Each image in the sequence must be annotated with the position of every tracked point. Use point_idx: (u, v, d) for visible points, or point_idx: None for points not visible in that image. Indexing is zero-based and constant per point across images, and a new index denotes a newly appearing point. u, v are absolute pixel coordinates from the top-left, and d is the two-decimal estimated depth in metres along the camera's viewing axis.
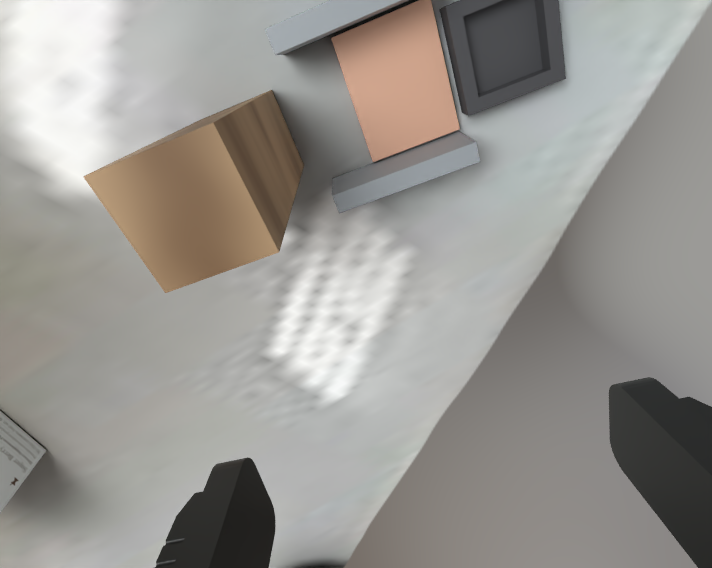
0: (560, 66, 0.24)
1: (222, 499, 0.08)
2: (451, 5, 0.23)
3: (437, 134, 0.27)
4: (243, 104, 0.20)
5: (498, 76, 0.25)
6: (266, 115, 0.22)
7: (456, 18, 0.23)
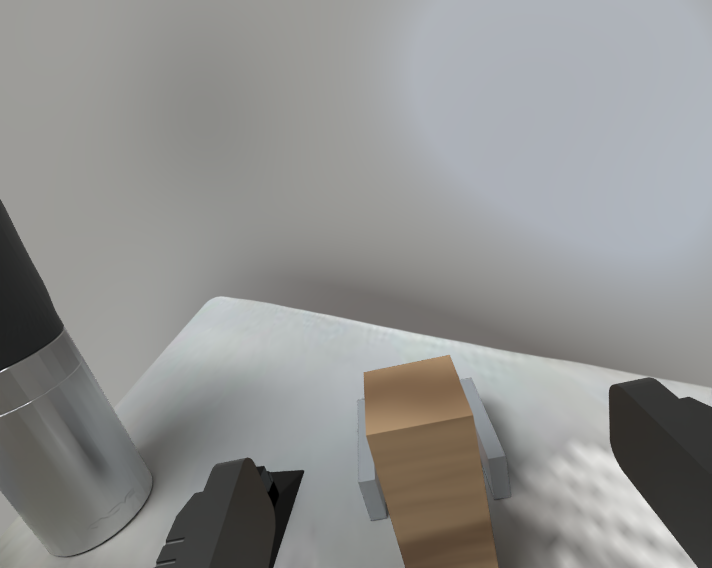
0: None
1: (222, 499, 0.08)
2: None
3: None
4: None
5: None
6: None
7: None
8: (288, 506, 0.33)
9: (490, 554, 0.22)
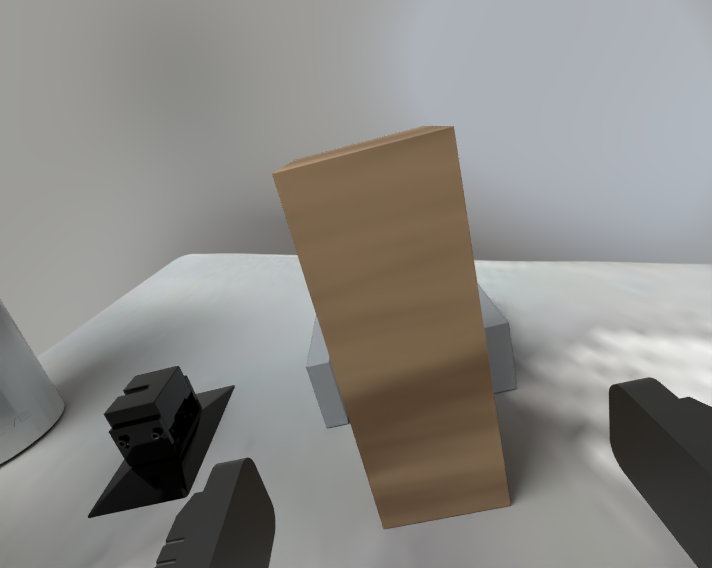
0: None
1: (222, 499, 0.08)
2: None
3: None
4: None
5: None
6: None
7: None
8: (215, 419, 0.26)
9: (489, 418, 0.14)
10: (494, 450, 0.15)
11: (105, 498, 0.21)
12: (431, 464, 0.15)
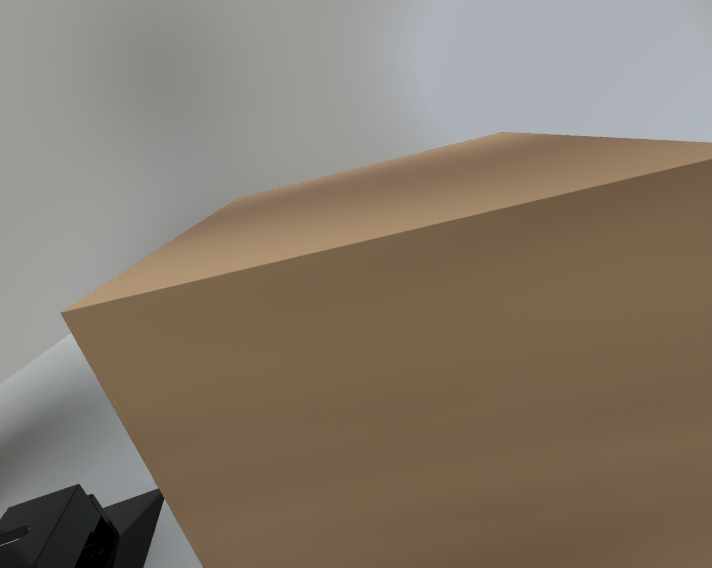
0: None
1: None
2: None
3: None
4: None
5: None
6: None
7: None
8: (139, 551, 0.18)
9: None
10: None
11: None
12: None
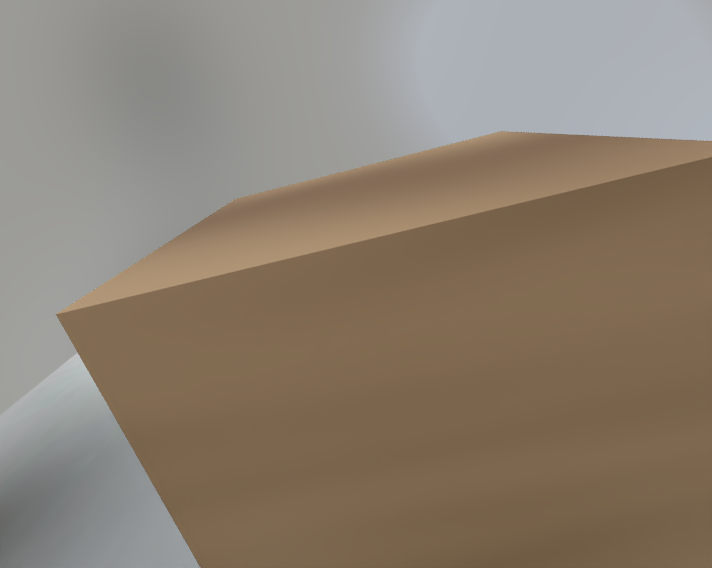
0: None
1: None
2: None
3: None
4: None
5: None
6: None
7: None
8: None
9: None
10: None
11: None
12: None
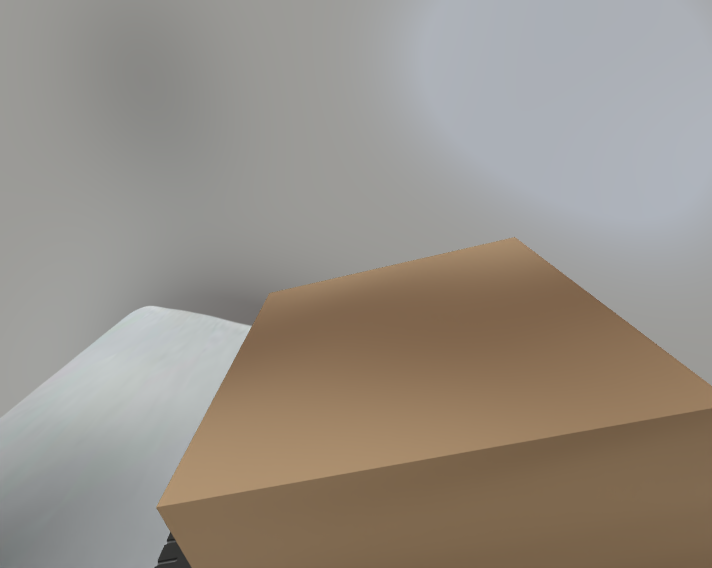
0: None
1: None
2: None
3: None
4: None
5: None
6: None
7: None
8: None
9: None
10: None
11: None
12: None
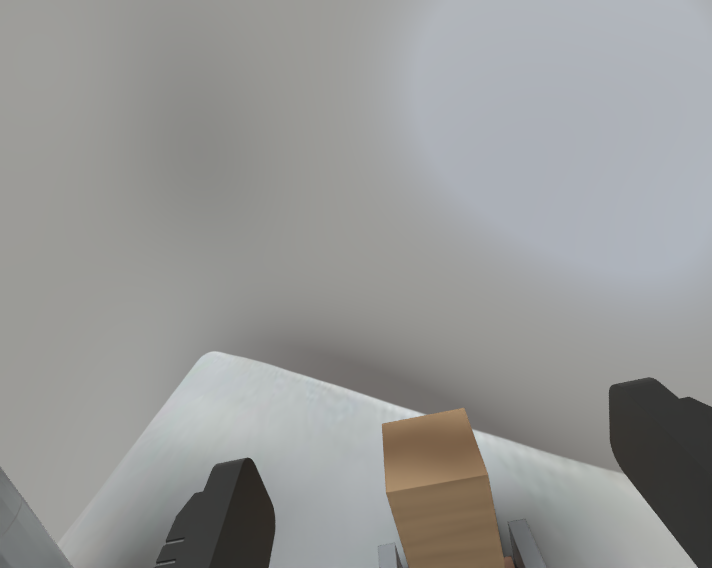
0: None
1: (222, 499, 0.08)
2: None
3: None
4: None
5: None
6: None
7: None
8: None
9: None
10: None
11: None
12: None
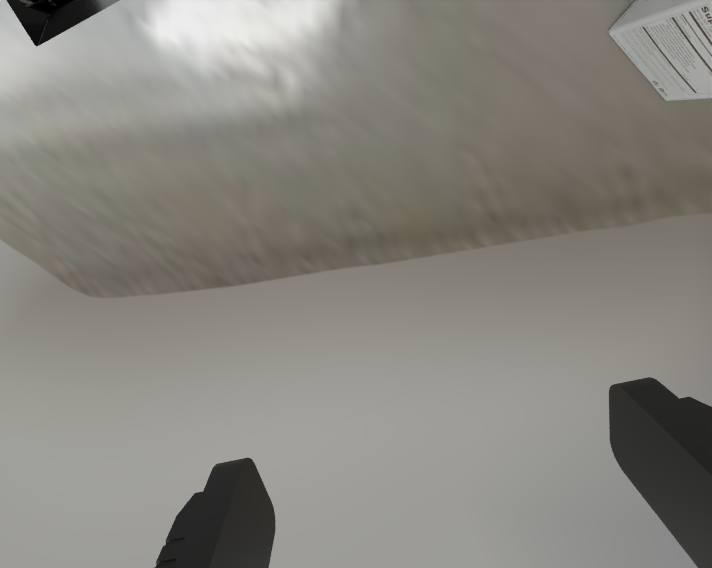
0: None
1: (222, 499, 0.08)
2: None
3: None
4: None
5: None
6: None
7: None
8: None
9: None
10: None
11: None
12: None
